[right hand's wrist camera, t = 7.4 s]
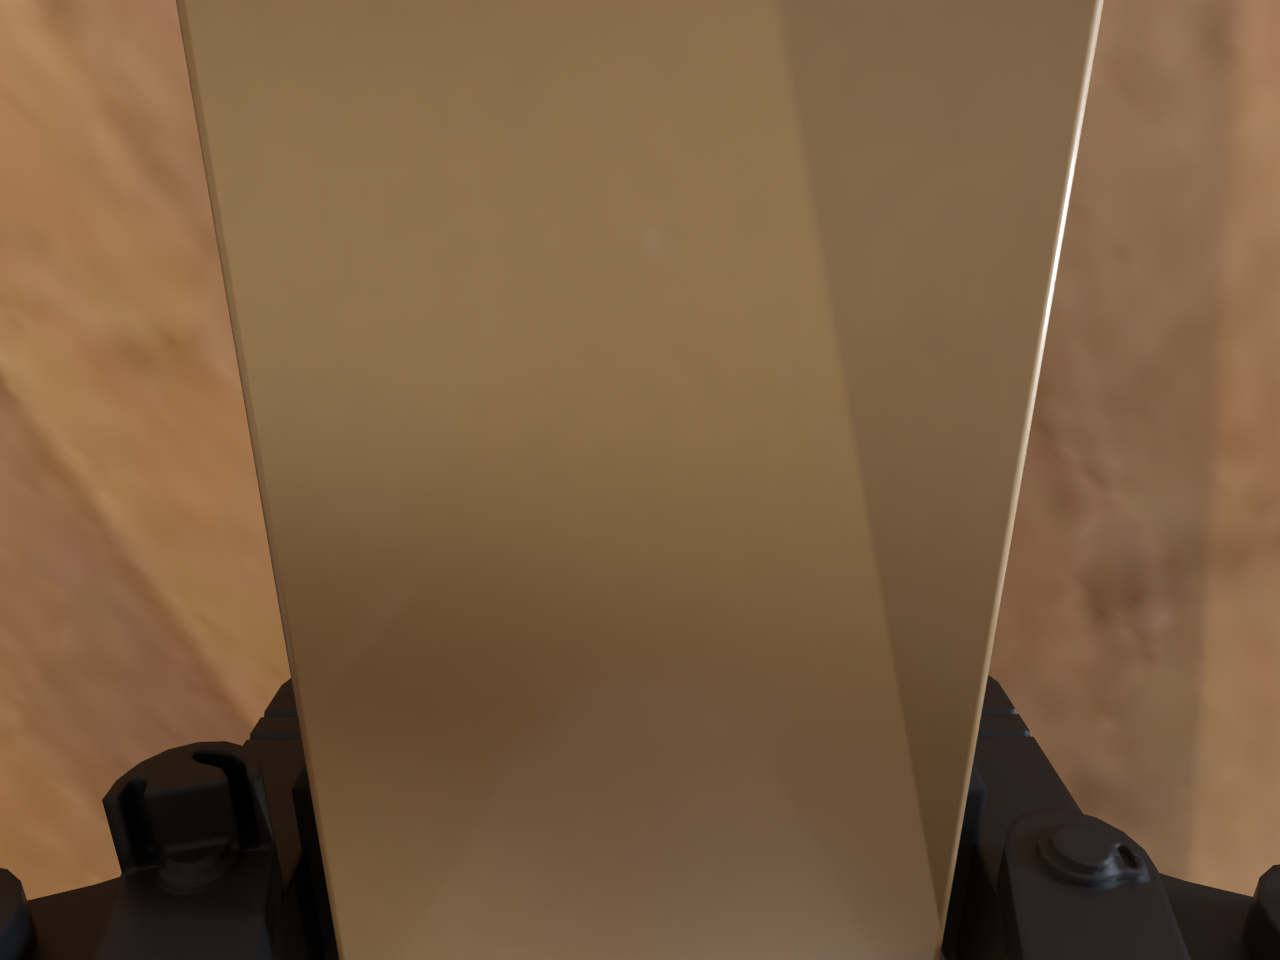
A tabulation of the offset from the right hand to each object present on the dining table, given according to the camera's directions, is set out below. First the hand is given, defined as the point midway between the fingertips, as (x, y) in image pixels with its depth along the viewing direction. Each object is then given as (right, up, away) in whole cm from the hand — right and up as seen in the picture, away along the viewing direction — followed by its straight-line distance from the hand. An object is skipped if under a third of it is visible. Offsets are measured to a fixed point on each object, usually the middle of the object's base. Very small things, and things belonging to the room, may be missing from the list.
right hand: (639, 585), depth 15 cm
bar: (0, +24, -9) cm, 26 cm away
